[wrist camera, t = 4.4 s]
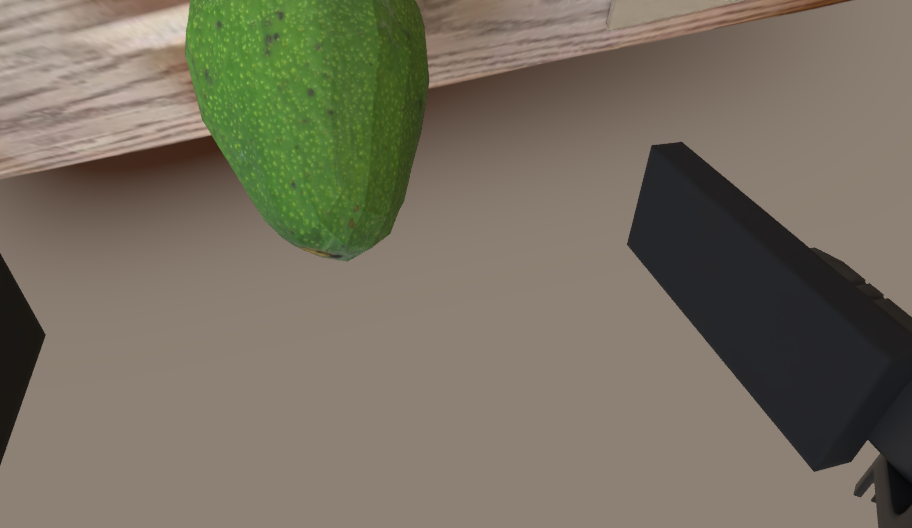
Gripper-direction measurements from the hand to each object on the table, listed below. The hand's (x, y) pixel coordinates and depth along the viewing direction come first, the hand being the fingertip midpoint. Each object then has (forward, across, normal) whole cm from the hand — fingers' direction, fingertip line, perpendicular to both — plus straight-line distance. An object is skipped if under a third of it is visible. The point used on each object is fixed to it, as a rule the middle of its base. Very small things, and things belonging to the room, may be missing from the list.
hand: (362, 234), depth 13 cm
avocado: (+14, 0, +4) cm, 15 cm away
